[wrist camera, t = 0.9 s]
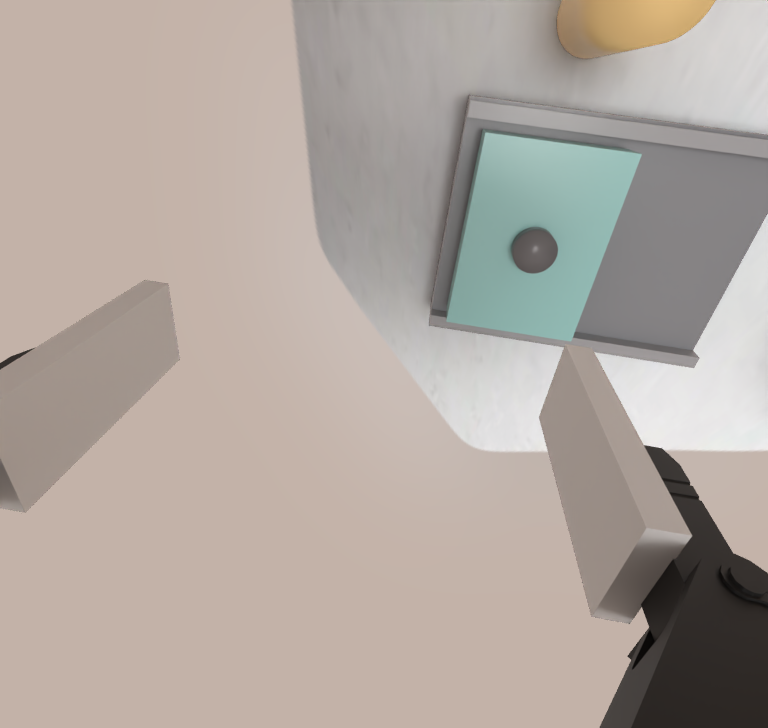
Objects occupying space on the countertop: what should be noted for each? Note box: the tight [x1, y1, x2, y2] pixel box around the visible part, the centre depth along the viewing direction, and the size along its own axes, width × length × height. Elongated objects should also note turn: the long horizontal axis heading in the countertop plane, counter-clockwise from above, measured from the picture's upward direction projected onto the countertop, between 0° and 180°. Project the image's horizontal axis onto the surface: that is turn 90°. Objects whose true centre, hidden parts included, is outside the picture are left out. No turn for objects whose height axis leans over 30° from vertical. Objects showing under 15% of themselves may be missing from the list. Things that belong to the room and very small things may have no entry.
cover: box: [446, 129, 642, 342], centre depth 27 cm, size 11×8×3 cm
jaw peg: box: [557, 0, 716, 59], centre depth 21 cm, size 4×4×10 cm
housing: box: [429, 95, 768, 368], centre depth 29 cm, size 14×18×4 cm
